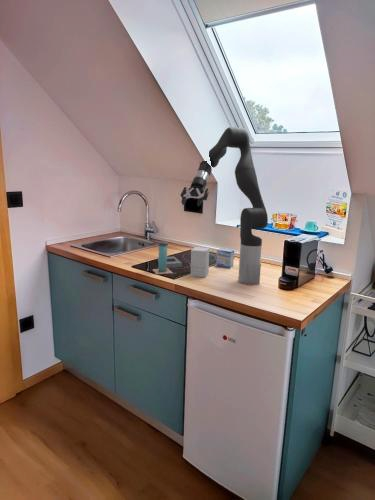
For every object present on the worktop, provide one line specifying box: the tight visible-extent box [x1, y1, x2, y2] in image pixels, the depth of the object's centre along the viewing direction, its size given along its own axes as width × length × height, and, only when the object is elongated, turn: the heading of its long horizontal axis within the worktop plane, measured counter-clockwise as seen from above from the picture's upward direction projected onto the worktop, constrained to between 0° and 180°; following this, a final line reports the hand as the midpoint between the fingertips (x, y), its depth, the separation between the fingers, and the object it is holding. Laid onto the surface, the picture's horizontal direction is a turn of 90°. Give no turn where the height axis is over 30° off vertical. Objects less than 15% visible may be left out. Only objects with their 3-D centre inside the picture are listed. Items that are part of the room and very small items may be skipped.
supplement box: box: [190, 246, 210, 278], centre depth 177 cm, size 7×7×13 cm
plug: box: [157, 240, 169, 272], centre depth 179 cm, size 5×5×14 cm
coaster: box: [152, 268, 173, 275], centre depth 180 cm, size 8×8×1 cm
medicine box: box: [215, 248, 235, 269], centre depth 193 cm, size 8×4×9 cm, turn 62°
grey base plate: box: [157, 256, 183, 269], centre depth 193 cm, size 14×9×2 cm, turn 19°
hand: (190, 204), depth 192 cm, fingers open, 8 cm apart
